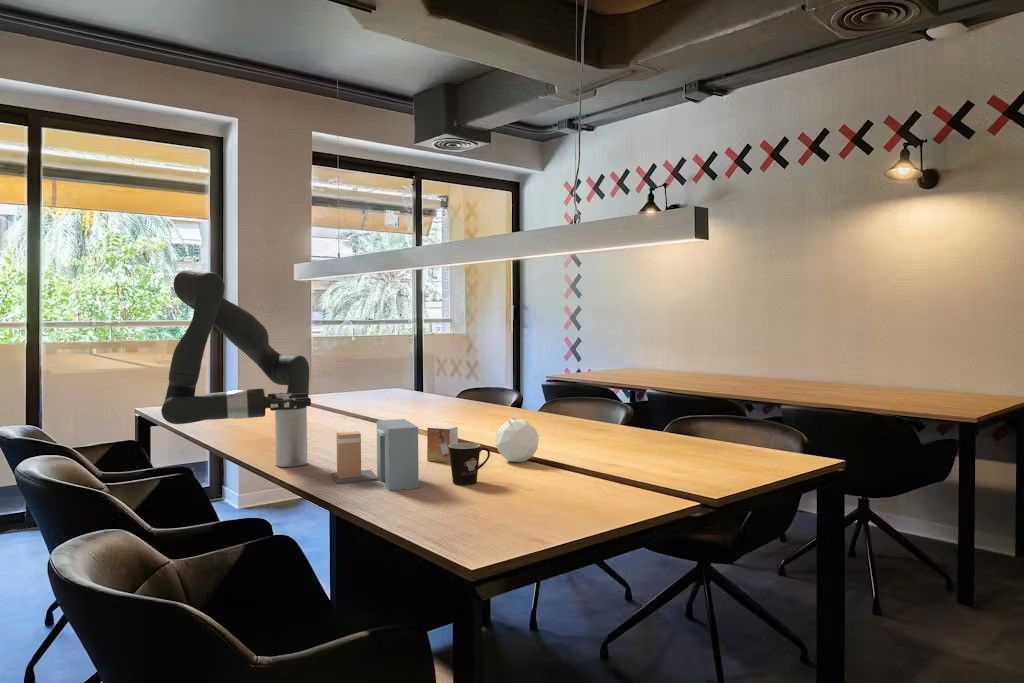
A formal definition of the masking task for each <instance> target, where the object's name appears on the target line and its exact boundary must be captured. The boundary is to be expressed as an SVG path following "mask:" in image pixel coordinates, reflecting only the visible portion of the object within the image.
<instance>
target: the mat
mask: <svg viewBox="0 0 1024 683" xmlns="http://www.w3.org/2000/svg"><path fill="white" fill-rule="evenodd" d="M331 476H332V477H333V479H334V481H336V482H335V483H336V484H339V485H340V484H349V483H361V482H371V481H372V482H373V481H380V480H379V478H378V477H377V475H376V473H375V472H374V471H373V470H372V469H363V470H362V469H361V477H350V478H339V477H338V476H337V471H335V472H331Z"/></svg>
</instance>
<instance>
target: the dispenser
mask: <svg viewBox="0 0 1024 683" xmlns="http://www.w3.org/2000/svg"><path fill="white" fill-rule="evenodd" d="M419 469H420V468H419V427H418V426H417V425H415V423H412V422H410V421H409V420H407V419H405V418H399V419H398V418H397V419H396V418H395V419H379V420H376V474H377V475H376V476H377V477H378V478H379V480H378V481H380V482H385V484H384V485H385V489H387V490H388V491H389V492H391V491H402V490H412V489H419V486H420V484H419V483H420V482H419V474H420V473H419Z"/></svg>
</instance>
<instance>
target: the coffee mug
mask: <svg viewBox="0 0 1024 683" xmlns="http://www.w3.org/2000/svg"><path fill="white" fill-rule="evenodd" d="M483 450H485V451H486V452H487V456H486V458H485V460H484V461H483V462H482V463H481V464H480V456H481V454H480V453H481V452H482V451H483ZM449 454H450V463H449V464H450V470H451V478H452V484H454V485H456V486H472V485H476V484H477V482H478V481H477V480H478V473H479V472H478V471H479V470H480V469H481V468H482V467H483V466H484V465H485V464H486V463H487V462H488V460H489V458H490V457H491V451H490V449H488V448H487V447H481V444H479V443H474V442H458V443H456V444H451V445H449ZM479 464H480V465H479Z"/></svg>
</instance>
